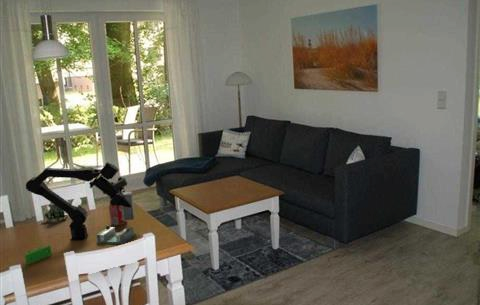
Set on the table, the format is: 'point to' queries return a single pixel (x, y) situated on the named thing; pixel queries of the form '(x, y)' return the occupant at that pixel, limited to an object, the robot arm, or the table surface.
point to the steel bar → (128, 211)
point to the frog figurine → (55, 214)
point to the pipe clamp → (38, 254)
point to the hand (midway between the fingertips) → (131, 205)
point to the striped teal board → (115, 235)
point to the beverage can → (117, 214)
